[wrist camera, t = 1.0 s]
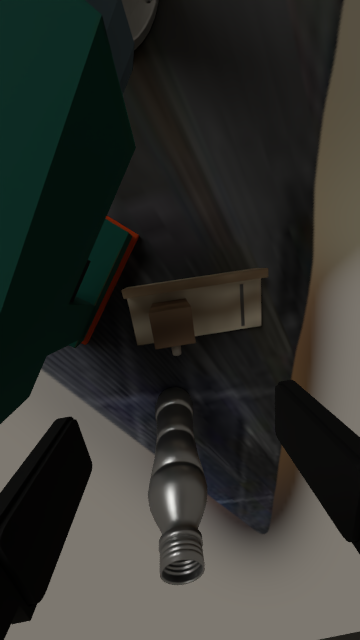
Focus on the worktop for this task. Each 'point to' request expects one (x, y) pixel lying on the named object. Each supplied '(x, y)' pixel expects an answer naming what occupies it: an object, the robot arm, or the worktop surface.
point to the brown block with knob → (172, 324)
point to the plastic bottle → (177, 489)
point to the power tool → (59, 177)
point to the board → (202, 301)
